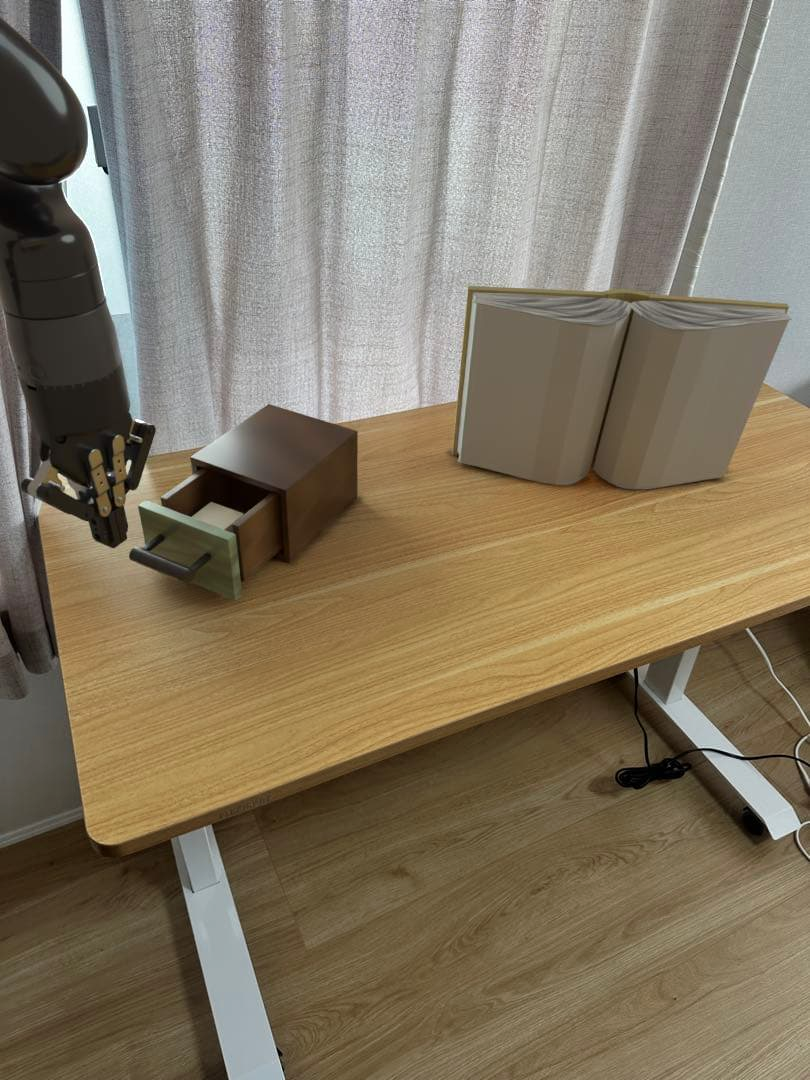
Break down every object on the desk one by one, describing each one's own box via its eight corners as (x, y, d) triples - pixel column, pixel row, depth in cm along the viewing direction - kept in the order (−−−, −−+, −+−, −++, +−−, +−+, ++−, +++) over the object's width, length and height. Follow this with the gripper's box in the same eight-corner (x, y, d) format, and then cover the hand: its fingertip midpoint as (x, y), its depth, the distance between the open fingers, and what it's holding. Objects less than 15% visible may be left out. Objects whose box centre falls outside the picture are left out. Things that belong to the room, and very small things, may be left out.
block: (222, 568, 85) (218, 534, 82) (189, 555, 86) (184, 521, 84) (247, 546, 88) (244, 513, 85) (215, 534, 89) (211, 501, 87)
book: (719, 462, 109) (785, 297, 92) (732, 500, 104) (805, 333, 87) (452, 447, 110) (467, 280, 93) (451, 485, 105) (467, 315, 87)
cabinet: (290, 562, 89) (285, 490, 83) (199, 528, 93) (189, 457, 88) (357, 499, 99) (357, 430, 94) (273, 470, 104) (268, 403, 98)
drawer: (208, 625, 79) (199, 564, 75) (120, 587, 83) (106, 526, 79) (308, 533, 92) (305, 475, 87) (227, 503, 96) (221, 447, 91)
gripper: (97, 320, 67) (133, 493, 77) (-41, 381, 57) (22, 569, 68) (167, 339, 64) (195, 516, 75) (34, 407, 55) (88, 599, 65)
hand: (112, 541), depth 71 cm, fingers closed
